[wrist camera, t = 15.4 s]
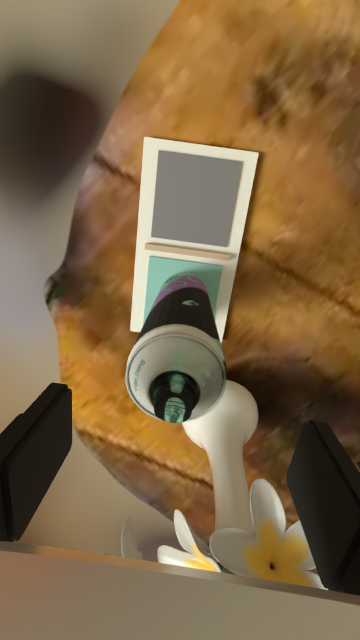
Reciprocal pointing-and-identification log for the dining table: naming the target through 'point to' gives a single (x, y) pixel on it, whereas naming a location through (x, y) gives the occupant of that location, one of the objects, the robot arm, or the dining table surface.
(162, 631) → the robot arm
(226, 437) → the flower vase
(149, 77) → the dining table surface
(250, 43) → the dining table surface
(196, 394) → the spray can
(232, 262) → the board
